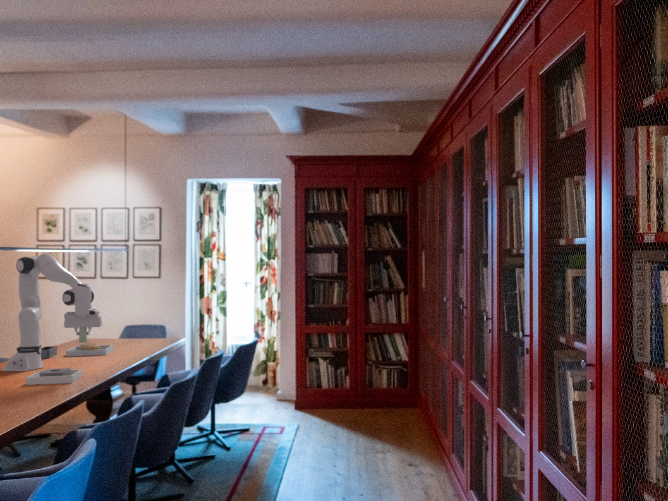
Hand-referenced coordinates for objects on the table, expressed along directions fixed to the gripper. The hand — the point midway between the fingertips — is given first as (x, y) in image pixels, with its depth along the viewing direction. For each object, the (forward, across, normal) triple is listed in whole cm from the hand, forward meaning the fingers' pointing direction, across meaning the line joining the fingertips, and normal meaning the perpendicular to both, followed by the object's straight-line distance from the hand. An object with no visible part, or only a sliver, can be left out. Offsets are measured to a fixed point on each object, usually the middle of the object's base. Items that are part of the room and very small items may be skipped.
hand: (82, 335), depth 311 cm
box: (+24, -12, -10) cm, 28 cm away
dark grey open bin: (+24, -44, +72) cm, 88 cm away
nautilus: (+24, -17, +80) cm, 85 cm away
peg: (+4, 0, 0) cm, 4 cm away
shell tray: (+24, -17, +80) cm, 85 cm away
